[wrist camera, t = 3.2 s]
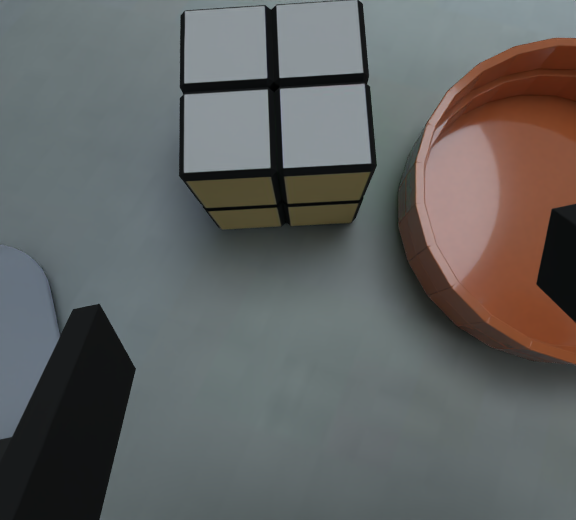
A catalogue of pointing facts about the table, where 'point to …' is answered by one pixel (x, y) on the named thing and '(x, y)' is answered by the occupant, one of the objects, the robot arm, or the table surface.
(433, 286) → the bowl
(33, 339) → the plastic bottle
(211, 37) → the puzzle cube
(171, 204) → the table surface
